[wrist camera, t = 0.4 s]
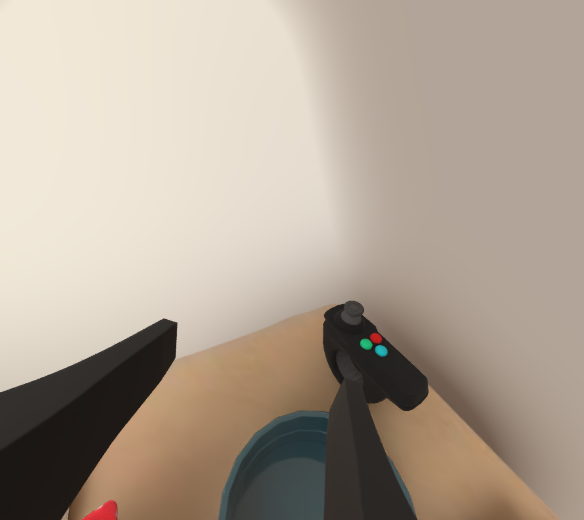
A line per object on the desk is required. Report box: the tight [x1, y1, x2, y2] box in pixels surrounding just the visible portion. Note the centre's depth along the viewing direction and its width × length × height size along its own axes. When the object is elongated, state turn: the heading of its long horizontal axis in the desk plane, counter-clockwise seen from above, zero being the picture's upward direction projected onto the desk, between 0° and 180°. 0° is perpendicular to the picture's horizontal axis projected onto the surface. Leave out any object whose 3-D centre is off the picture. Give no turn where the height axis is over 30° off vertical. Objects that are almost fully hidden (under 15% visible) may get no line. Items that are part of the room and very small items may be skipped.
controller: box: [323, 301, 428, 411], centre depth 29 cm, size 4×12×10 cm, turn 35°
